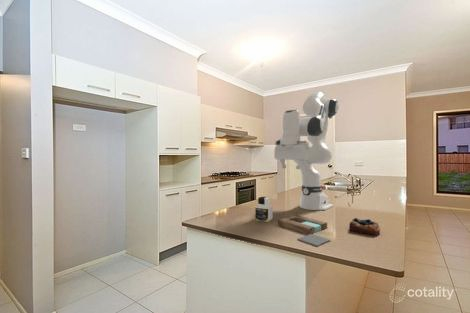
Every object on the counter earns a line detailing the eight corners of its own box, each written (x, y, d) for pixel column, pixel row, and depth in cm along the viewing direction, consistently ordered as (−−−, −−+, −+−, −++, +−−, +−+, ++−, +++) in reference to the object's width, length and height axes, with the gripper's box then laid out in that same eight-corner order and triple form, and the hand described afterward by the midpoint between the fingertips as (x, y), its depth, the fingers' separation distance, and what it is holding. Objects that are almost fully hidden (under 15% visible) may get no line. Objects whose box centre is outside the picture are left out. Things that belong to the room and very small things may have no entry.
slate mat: (311, 235, 103) (311, 233, 103) (330, 241, 95) (330, 239, 95) (297, 239, 97) (297, 238, 97) (317, 246, 90) (317, 245, 90)
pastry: (353, 226, 115) (352, 213, 115) (381, 230, 107) (381, 217, 107) (347, 232, 106) (347, 219, 106) (378, 237, 99) (377, 223, 99)
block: (306, 226, 116) (306, 221, 116) (321, 230, 109) (321, 225, 109) (300, 228, 113) (300, 223, 112) (315, 232, 106) (314, 227, 106)
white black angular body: (255, 220, 126) (255, 197, 125) (260, 217, 132) (260, 195, 132) (268, 222, 122) (267, 199, 122) (272, 218, 129) (272, 196, 128)
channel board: (296, 219, 126) (296, 214, 126) (327, 227, 112) (327, 222, 112) (278, 224, 118) (278, 219, 118) (309, 234, 103) (309, 228, 103)
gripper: (312, 140, 114) (312, 169, 114) (280, 142, 131) (280, 167, 131) (304, 140, 110) (304, 169, 110) (272, 142, 127) (272, 168, 127)
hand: (291, 168), depth 121 cm, fingers open, 8 cm apart
